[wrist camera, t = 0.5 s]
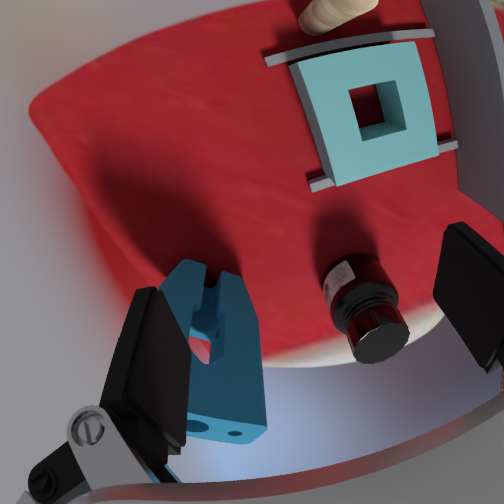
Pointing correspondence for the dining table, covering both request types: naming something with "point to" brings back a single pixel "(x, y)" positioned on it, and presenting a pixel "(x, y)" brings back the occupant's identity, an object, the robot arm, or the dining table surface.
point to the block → (220, 354)
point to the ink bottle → (365, 307)
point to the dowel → (331, 14)
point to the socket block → (343, 116)
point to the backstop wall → (455, 90)
